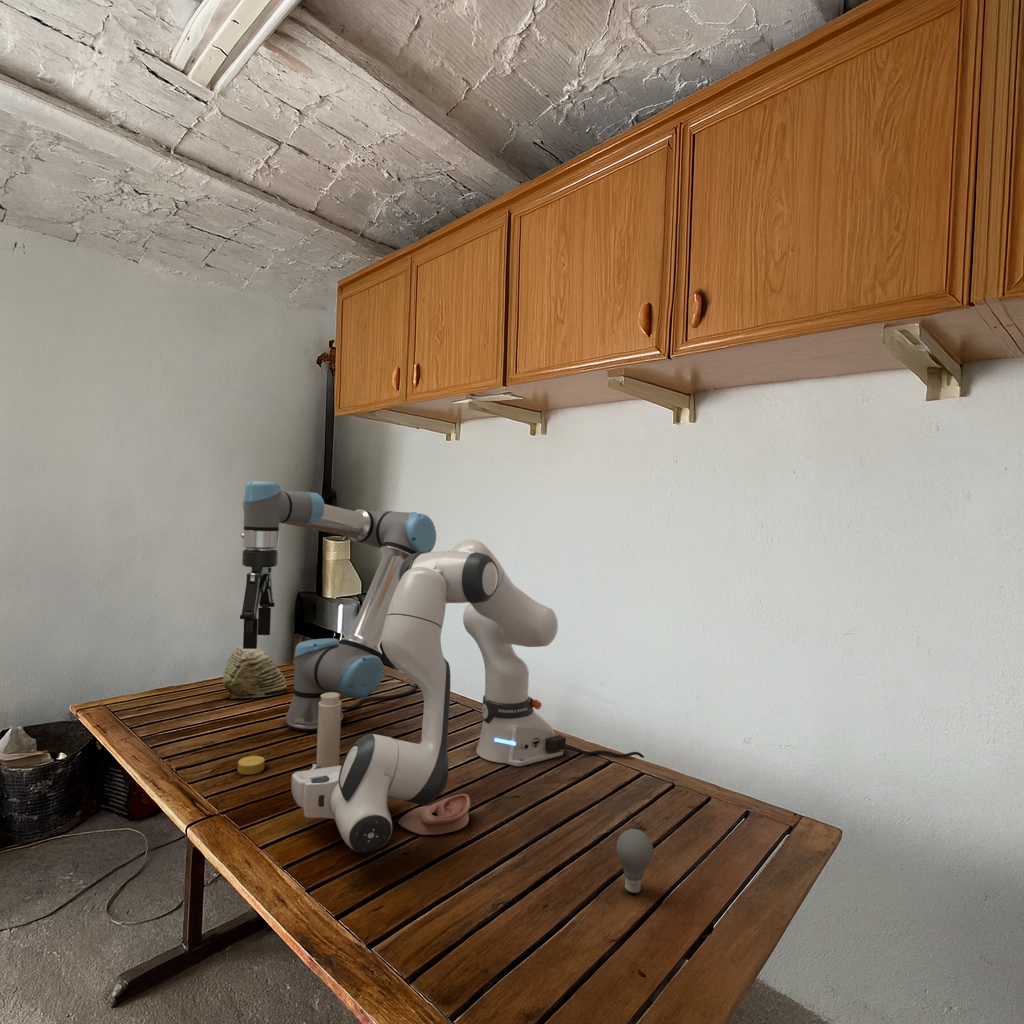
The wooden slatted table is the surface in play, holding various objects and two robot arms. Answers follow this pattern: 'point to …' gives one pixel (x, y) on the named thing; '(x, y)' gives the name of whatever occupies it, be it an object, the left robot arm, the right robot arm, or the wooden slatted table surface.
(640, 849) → the light bulb
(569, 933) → the wooden slatted table surface
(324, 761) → the beige cylinder
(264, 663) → the fossil
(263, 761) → the lid
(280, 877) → the wooden slatted table surface
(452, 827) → the anatomical model
